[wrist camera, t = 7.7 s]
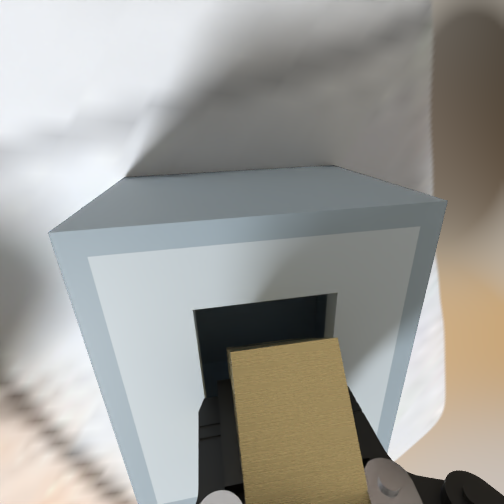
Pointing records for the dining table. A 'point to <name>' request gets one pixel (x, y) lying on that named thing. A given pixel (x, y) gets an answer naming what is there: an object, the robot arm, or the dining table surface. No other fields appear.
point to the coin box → (240, 294)
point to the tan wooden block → (295, 423)
